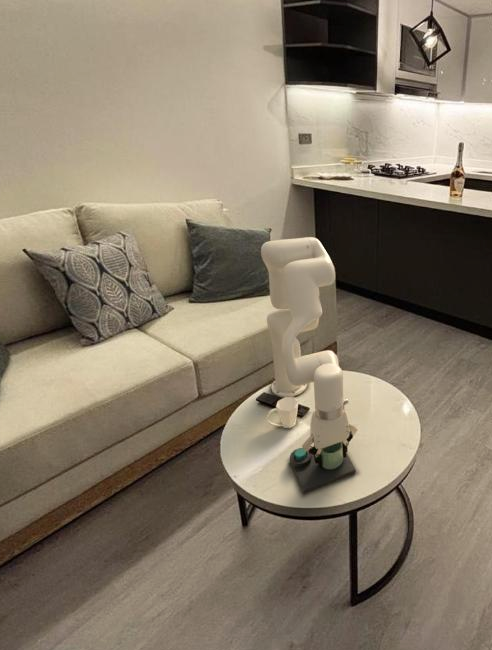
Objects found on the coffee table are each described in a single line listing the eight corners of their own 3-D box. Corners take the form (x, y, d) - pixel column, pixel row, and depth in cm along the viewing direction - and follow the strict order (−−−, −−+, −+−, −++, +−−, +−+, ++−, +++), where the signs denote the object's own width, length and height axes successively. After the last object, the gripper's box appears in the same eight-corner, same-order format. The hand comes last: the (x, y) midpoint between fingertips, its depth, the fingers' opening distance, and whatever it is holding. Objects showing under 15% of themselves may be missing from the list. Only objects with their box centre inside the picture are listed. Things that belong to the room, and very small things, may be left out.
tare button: (293, 454, 116) (293, 450, 116) (304, 451, 118) (303, 447, 117) (297, 462, 114) (296, 457, 114) (307, 458, 116) (307, 454, 115)
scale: (288, 460, 118) (287, 452, 117) (338, 442, 125) (337, 434, 124) (302, 495, 107) (301, 486, 106) (355, 473, 115) (355, 465, 113)
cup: (302, 427, 130) (300, 407, 127) (270, 436, 126) (267, 415, 123) (297, 414, 136) (296, 394, 133) (266, 422, 132) (264, 401, 129)
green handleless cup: (316, 457, 117) (315, 441, 115) (337, 449, 121) (337, 434, 118) (324, 474, 112) (323, 457, 110) (346, 465, 115) (346, 449, 113)
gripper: (353, 391, 116) (353, 440, 123) (293, 409, 108) (297, 460, 115) (364, 406, 110) (364, 457, 117) (302, 427, 102) (305, 480, 109)
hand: (331, 458), depth 116 cm, fingers closed on green handleless cup, 6 cm apart
